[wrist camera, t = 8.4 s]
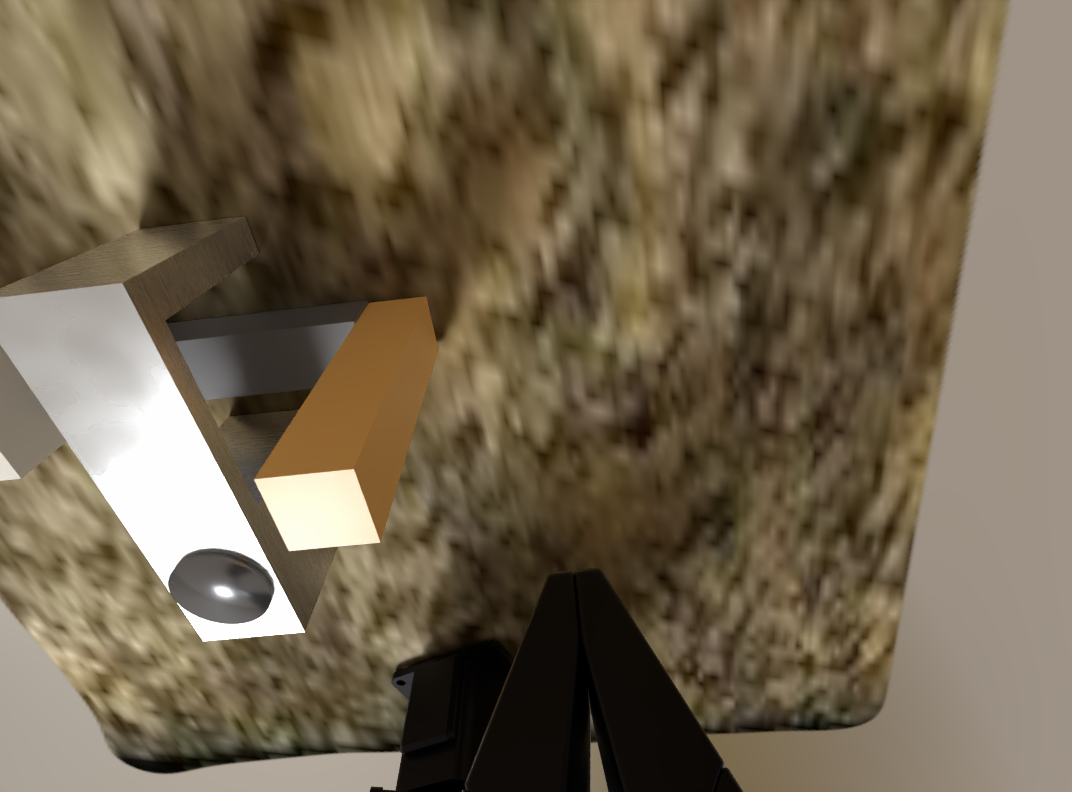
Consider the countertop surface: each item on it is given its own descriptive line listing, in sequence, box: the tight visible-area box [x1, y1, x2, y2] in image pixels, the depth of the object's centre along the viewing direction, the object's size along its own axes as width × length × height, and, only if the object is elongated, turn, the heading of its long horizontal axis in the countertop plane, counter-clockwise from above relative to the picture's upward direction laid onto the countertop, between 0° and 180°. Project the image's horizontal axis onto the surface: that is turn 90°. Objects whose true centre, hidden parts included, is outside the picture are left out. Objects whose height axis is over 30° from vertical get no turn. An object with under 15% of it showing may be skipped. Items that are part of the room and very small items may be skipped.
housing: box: [0, 216, 338, 641], centre depth 18 cm, size 4×12×6 cm, turn 6°
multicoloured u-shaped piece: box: [0, 296, 438, 551], centre depth 16 cm, size 18×4×9 cm, turn 96°
